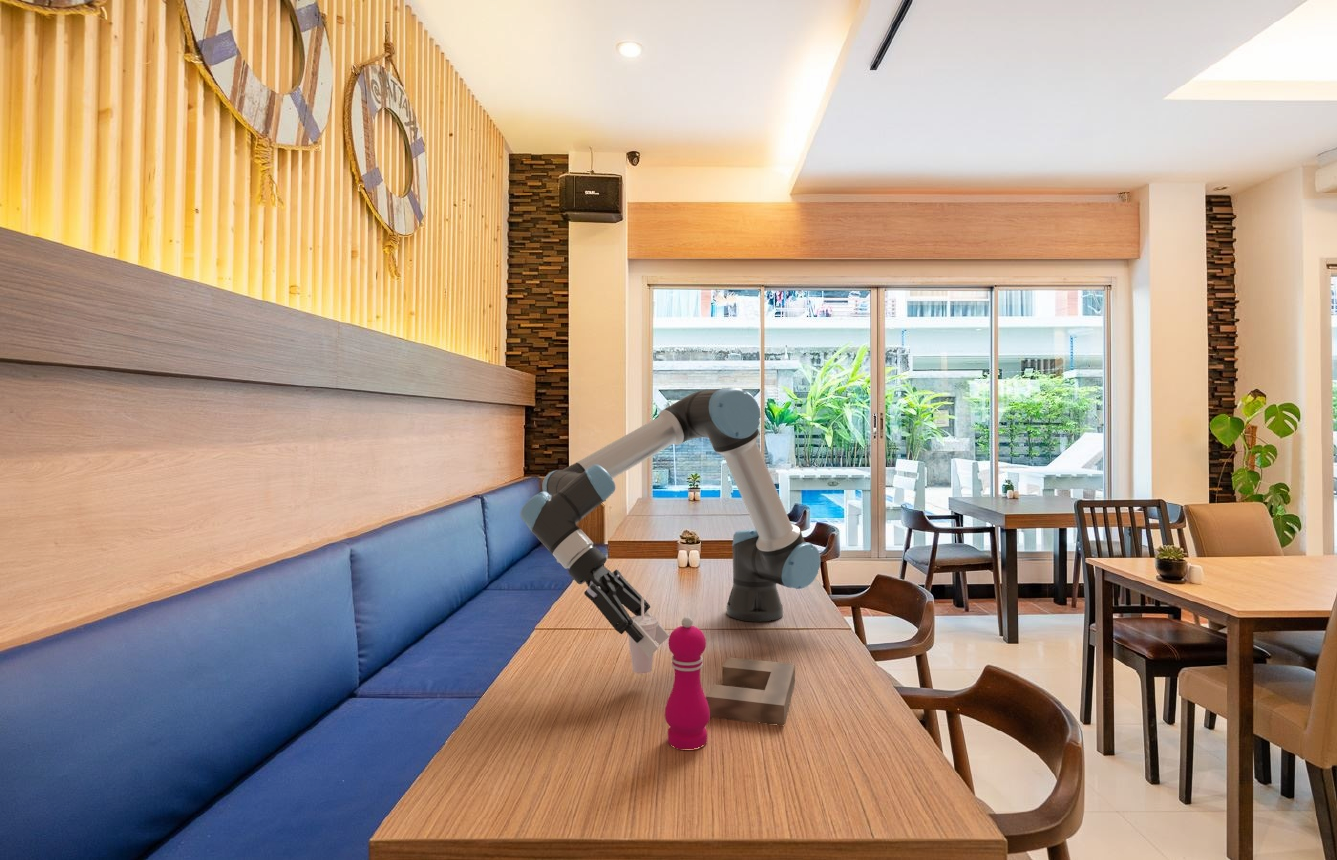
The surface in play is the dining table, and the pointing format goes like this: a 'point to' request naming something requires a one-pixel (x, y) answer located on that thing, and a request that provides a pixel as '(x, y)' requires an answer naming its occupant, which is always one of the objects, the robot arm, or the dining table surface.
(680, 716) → the pepper mill
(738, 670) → the notched board
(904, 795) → the dining table surface
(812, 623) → the dining table surface
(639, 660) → the smoothie
